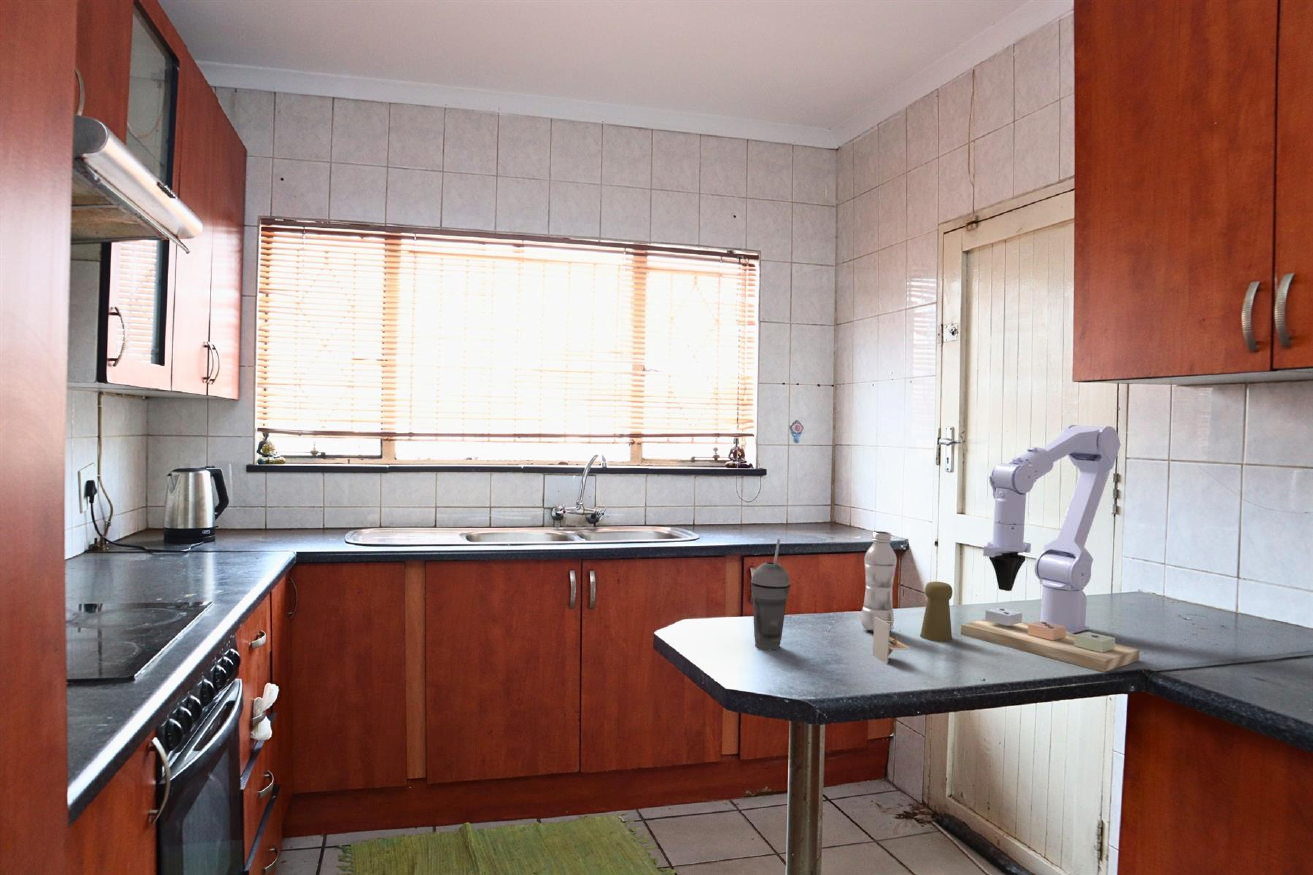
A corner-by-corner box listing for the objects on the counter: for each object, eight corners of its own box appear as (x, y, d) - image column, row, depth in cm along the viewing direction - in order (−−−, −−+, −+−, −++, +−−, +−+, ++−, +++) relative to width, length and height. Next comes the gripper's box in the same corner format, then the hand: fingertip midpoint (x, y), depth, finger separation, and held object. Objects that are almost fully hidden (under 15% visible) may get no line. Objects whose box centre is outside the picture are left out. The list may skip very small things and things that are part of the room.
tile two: (998, 617, 172) (999, 606, 172) (1021, 622, 168) (1022, 612, 168) (985, 619, 169) (985, 609, 169) (1008, 625, 165) (1009, 614, 165)
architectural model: (889, 656, 151) (891, 616, 151) (908, 668, 144) (910, 626, 144) (871, 657, 151) (874, 616, 150) (889, 669, 144) (892, 626, 144)
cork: (954, 642, 161) (957, 586, 161) (921, 639, 162) (925, 584, 162) (949, 635, 167) (952, 580, 167) (918, 632, 168) (921, 578, 168)
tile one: (1087, 642, 158) (1087, 630, 158) (1114, 648, 154) (1115, 637, 154) (1074, 645, 155) (1074, 634, 154) (1102, 652, 151) (1102, 640, 151)
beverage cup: (755, 638, 158) (760, 533, 157) (792, 645, 154) (797, 538, 154) (741, 647, 151) (747, 538, 150) (780, 654, 148) (785, 542, 147)
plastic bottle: (857, 632, 166) (863, 532, 165) (862, 625, 172) (867, 529, 171) (891, 637, 163) (896, 536, 162) (895, 629, 169) (900, 532, 169)
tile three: (1040, 630, 165) (1041, 620, 165) (1065, 637, 161) (1066, 625, 161) (1027, 634, 162) (1028, 623, 162) (1052, 640, 158) (1053, 629, 158)
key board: (998, 625, 177) (998, 616, 177) (1138, 660, 154) (1139, 649, 154) (960, 634, 168) (961, 624, 168) (1104, 671, 146) (1104, 660, 146)
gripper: (1009, 518, 175) (1005, 582, 176) (970, 522, 166) (967, 589, 167) (1042, 523, 170) (1038, 589, 170) (1004, 526, 161) (1000, 596, 161)
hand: (1005, 589), depth 168 cm, fingers closed
